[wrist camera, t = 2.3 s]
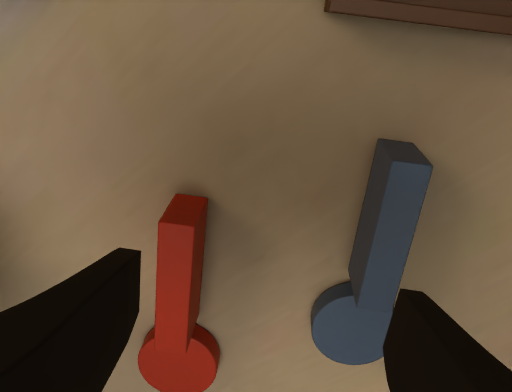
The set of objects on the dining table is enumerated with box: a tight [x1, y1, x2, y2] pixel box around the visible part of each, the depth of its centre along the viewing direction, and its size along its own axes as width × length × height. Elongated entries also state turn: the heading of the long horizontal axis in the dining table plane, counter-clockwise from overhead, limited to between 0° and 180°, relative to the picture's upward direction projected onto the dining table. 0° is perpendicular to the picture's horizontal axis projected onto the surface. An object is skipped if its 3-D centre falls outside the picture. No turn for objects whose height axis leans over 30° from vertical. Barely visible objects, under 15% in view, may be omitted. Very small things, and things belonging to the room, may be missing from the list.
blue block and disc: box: [311, 139, 433, 365], centre depth 21 cm, size 12×4×3 cm, turn 173°
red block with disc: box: [138, 194, 220, 392], centre depth 23 cm, size 12×4×3 cm, turn 173°
